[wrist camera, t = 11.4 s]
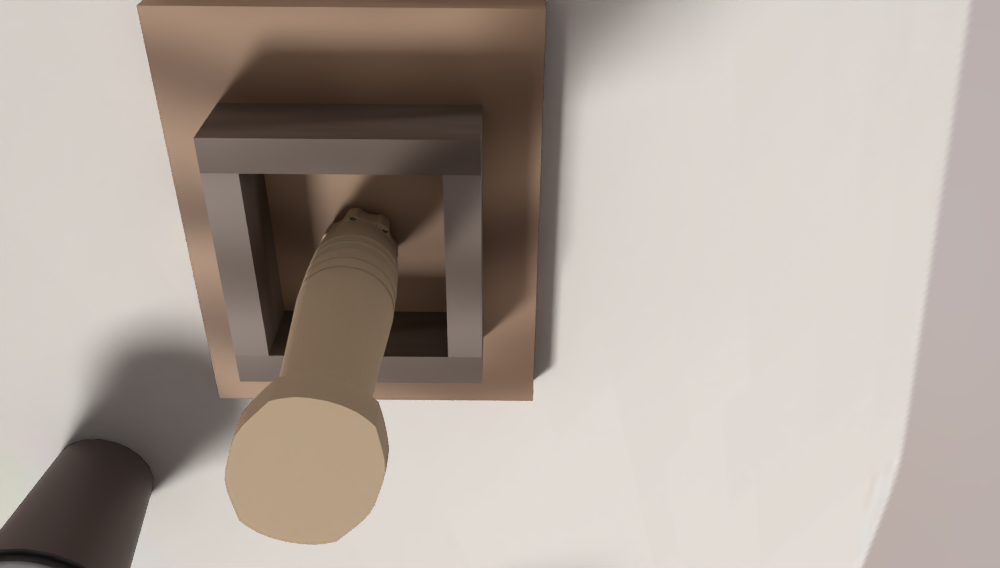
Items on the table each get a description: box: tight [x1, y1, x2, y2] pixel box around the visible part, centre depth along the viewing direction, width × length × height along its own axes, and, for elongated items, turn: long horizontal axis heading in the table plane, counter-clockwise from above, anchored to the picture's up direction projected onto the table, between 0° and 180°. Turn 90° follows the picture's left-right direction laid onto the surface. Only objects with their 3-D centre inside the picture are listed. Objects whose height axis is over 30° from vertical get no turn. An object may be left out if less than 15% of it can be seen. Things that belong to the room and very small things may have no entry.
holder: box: [137, 0, 546, 401], centre depth 40 cm, size 20×16×5 cm
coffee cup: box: [0, 439, 153, 568], centre depth 48 cm, size 8×8×10 cm
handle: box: [225, 208, 398, 545], centre depth 35 cm, size 5×6×15 cm
